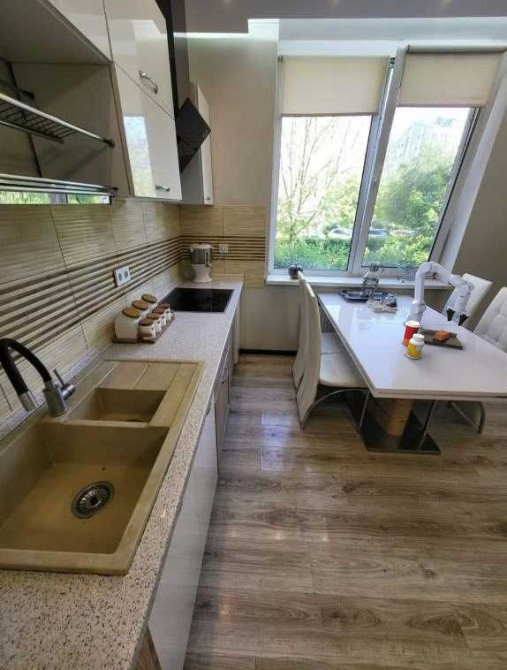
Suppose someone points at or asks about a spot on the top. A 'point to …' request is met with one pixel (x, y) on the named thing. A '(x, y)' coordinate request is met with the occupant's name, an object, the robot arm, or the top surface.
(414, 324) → the paper cup
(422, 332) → the shelf board
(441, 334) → the reddish orange block
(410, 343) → the supplement bottle
